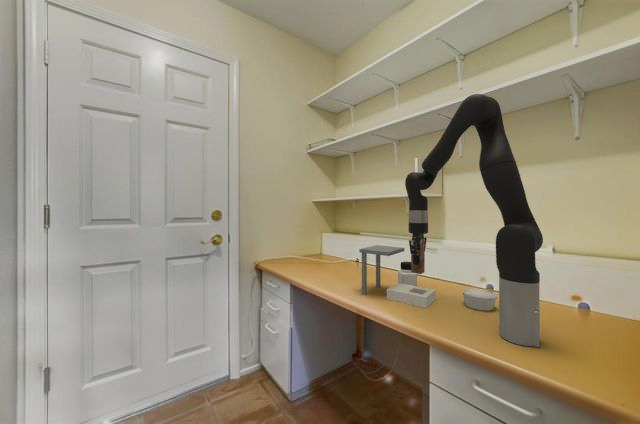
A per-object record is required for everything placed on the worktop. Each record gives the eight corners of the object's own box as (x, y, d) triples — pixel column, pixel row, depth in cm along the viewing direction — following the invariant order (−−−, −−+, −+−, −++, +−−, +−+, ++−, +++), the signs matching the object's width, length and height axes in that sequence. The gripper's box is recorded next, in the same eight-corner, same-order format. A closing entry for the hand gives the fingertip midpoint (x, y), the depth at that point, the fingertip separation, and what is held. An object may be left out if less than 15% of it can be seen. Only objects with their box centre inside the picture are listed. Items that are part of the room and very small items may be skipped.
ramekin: (463, 299, 106) (463, 286, 106) (496, 304, 100) (496, 291, 100) (461, 308, 96) (461, 294, 96) (497, 315, 90) (497, 300, 90)
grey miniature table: (404, 291, 116) (404, 247, 116) (389, 301, 104) (388, 252, 104) (376, 285, 125) (376, 245, 125) (359, 293, 113) (359, 249, 113)
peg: (424, 272, 104) (424, 243, 104) (421, 274, 101) (421, 244, 101) (414, 270, 107) (414, 242, 107) (411, 272, 104) (411, 243, 104)
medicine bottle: (417, 288, 120) (417, 263, 120) (402, 288, 120) (401, 263, 120) (412, 284, 127) (411, 260, 127) (397, 284, 127) (397, 260, 127)
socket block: (435, 299, 106) (435, 290, 106) (425, 308, 96) (425, 297, 96) (398, 291, 116) (398, 282, 116) (386, 298, 107) (386, 289, 107)
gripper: (421, 222, 96) (421, 268, 96) (433, 221, 107) (433, 261, 107) (402, 222, 101) (402, 265, 101) (415, 220, 112) (415, 259, 112)
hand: (418, 263), depth 104 cm, fingers closed on peg, 4 cm apart
